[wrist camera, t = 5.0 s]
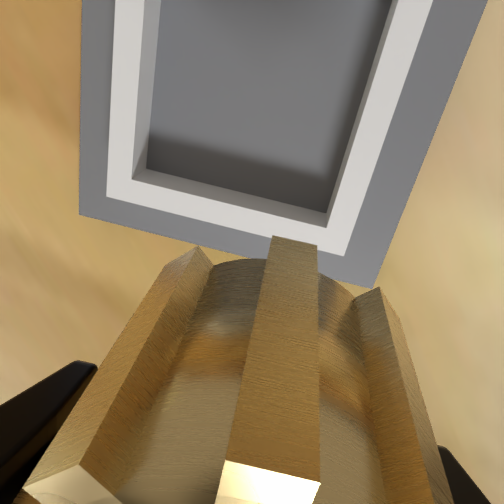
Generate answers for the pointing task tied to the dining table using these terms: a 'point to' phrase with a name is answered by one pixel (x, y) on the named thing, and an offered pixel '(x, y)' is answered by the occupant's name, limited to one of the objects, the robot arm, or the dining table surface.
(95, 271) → the dining table surface
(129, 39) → the carrier plate
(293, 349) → the gear
